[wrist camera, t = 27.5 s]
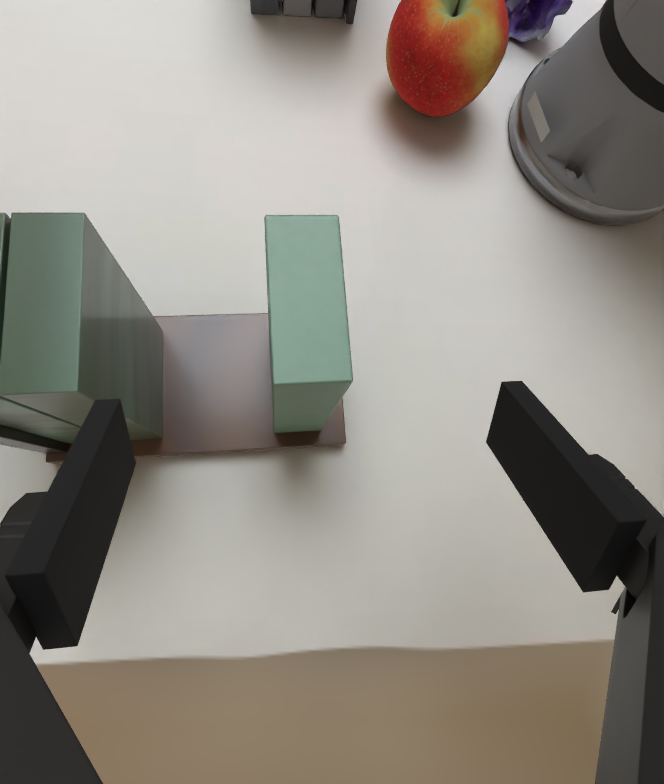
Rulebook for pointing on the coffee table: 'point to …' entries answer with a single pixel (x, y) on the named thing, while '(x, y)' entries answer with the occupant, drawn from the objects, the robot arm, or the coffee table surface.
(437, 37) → the apple
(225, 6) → the coffee table surface
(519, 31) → the flower
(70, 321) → the book rack
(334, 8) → the grey books
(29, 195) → the coffee table surface
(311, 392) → the green book
